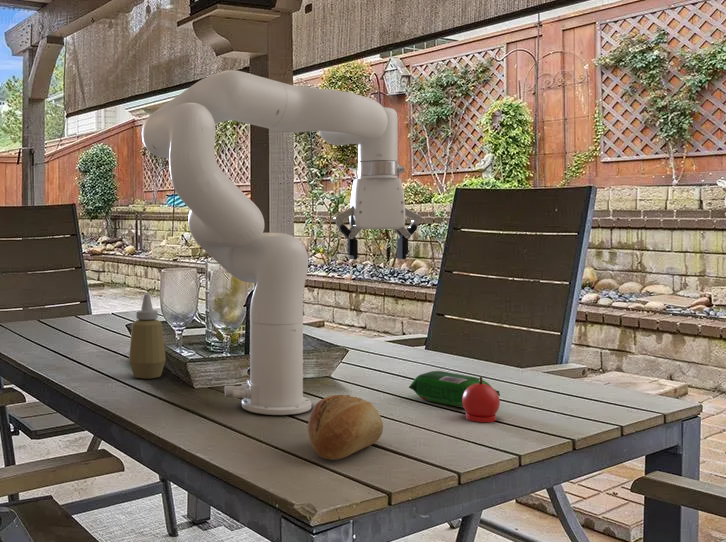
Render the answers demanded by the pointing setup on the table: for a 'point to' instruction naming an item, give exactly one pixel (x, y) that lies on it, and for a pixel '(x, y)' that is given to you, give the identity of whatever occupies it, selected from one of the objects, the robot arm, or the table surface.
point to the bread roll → (343, 426)
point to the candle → (480, 402)
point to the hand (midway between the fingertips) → (377, 259)
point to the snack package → (443, 387)
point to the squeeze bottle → (147, 343)
